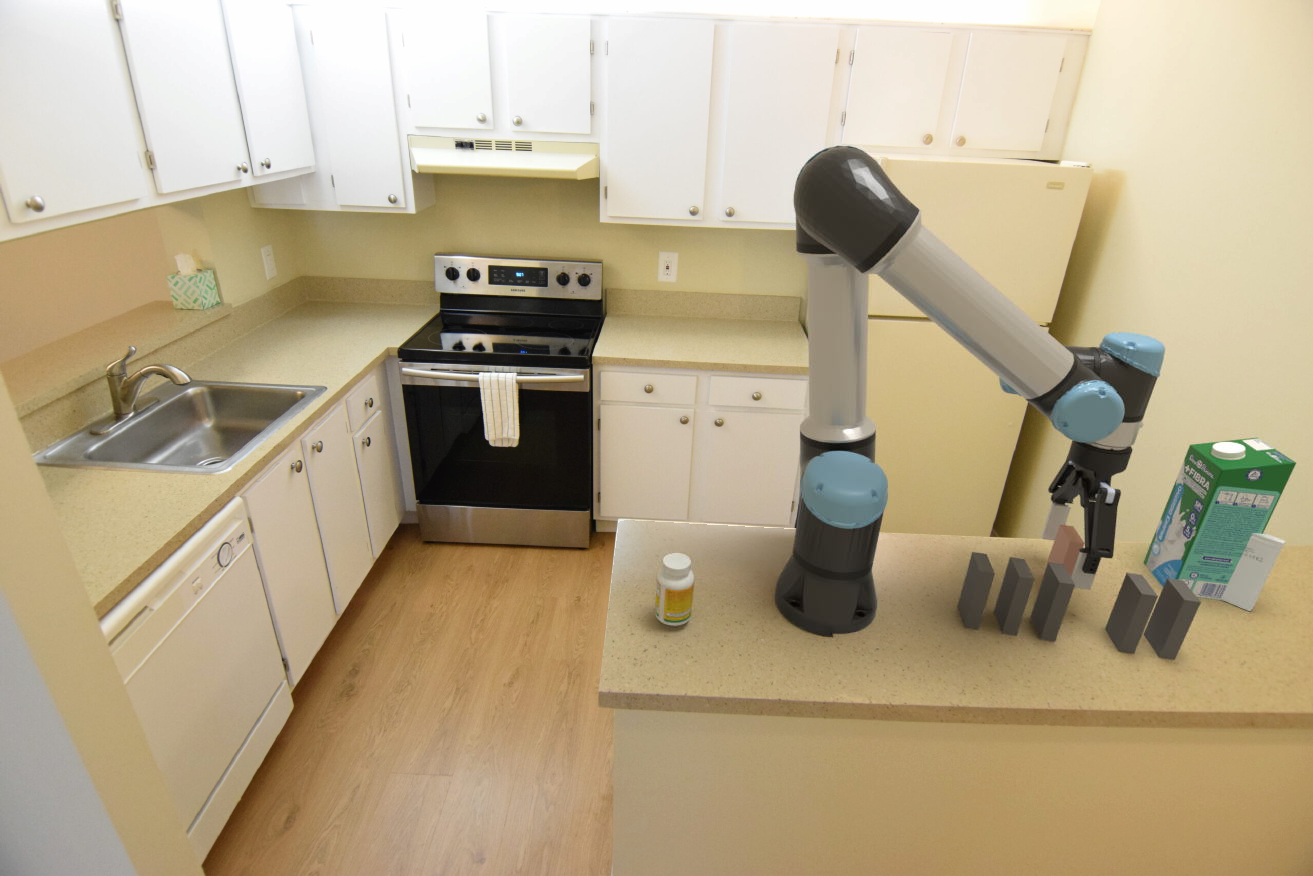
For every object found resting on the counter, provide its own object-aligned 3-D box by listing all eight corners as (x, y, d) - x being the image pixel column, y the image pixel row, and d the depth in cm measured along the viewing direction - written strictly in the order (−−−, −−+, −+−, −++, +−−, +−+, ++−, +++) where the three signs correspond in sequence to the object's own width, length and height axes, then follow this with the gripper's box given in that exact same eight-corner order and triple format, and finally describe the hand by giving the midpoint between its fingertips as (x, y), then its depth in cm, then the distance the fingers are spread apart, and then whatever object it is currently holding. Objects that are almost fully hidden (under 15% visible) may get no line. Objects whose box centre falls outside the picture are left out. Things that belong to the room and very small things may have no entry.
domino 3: (1052, 594, 109) (1070, 541, 105) (1042, 576, 114) (1059, 524, 109) (1065, 596, 109) (1084, 543, 105) (1055, 578, 113) (1073, 526, 109)
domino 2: (1001, 633, 100) (1019, 576, 96) (993, 612, 105) (1009, 557, 100) (1016, 635, 100) (1034, 579, 96) (1007, 614, 104) (1024, 558, 100)
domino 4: (1040, 639, 99) (1059, 582, 95) (1030, 617, 104) (1048, 562, 100) (1055, 641, 99) (1075, 584, 95) (1044, 619, 103) (1063, 564, 99)
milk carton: (1142, 563, 118) (1194, 430, 108) (1199, 570, 117) (1258, 436, 107) (1168, 595, 110) (1228, 455, 100) (1230, 603, 109) (1297, 461, 99)
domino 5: (1118, 651, 98) (1141, 593, 93) (1105, 628, 102) (1126, 572, 98) (1134, 653, 97) (1158, 596, 93) (1119, 630, 102) (1142, 574, 98)
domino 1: (964, 628, 101) (979, 571, 97) (957, 606, 105) (972, 551, 101) (978, 630, 101) (994, 573, 96) (971, 608, 105) (986, 553, 101)
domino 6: (1159, 657, 97) (1184, 599, 93) (1143, 634, 101) (1167, 578, 97) (1174, 660, 96) (1201, 602, 92) (1158, 636, 101) (1182, 580, 97)
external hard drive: (1191, 582, 113) (1220, 517, 108) (1253, 608, 107) (1286, 540, 102) (1188, 586, 112) (1216, 520, 107) (1250, 612, 106) (1283, 544, 101)
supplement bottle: (647, 614, 101) (649, 559, 97) (672, 598, 104) (675, 545, 100) (674, 632, 98) (677, 576, 94) (699, 615, 101) (703, 561, 97)
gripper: (1172, 481, 89) (1122, 614, 97) (1099, 411, 111) (1063, 524, 120) (1109, 475, 90) (1065, 607, 99) (1048, 406, 112) (1017, 519, 121)
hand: (1064, 562), depth 109 cm, fingers open, 13 cm apart
